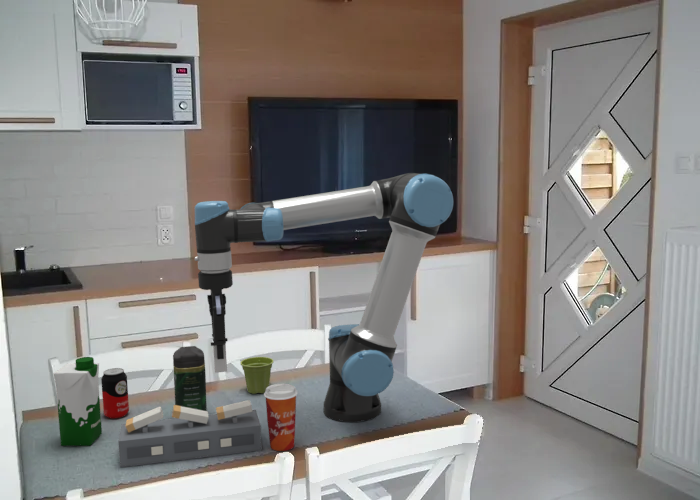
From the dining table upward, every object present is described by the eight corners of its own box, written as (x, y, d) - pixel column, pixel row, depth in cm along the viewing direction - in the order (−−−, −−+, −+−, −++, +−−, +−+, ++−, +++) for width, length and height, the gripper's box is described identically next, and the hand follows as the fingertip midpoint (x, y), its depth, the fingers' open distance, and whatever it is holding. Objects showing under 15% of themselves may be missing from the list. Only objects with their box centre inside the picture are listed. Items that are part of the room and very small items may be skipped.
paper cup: (271, 455, 156) (269, 396, 154) (261, 442, 163) (259, 385, 161) (304, 449, 159) (302, 390, 157) (293, 436, 166) (291, 380, 164)
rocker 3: (250, 406, 164) (249, 399, 163) (252, 411, 160) (251, 405, 160) (217, 414, 162) (215, 407, 161) (218, 419, 158) (216, 413, 158)
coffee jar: (208, 423, 174) (205, 352, 172) (176, 427, 172) (172, 355, 170) (205, 410, 184) (202, 342, 181) (175, 413, 181) (171, 345, 179)
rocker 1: (163, 412, 159) (160, 406, 158) (163, 418, 155) (160, 411, 155) (129, 426, 157) (126, 419, 157) (128, 432, 154) (125, 426, 153)
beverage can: (102, 420, 177) (99, 375, 175) (105, 411, 183) (102, 368, 182) (127, 418, 179) (125, 373, 177) (130, 409, 185) (127, 366, 183)
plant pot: (234, 392, 197) (233, 363, 195) (257, 383, 204) (256, 354, 203) (259, 398, 191) (258, 368, 190) (281, 388, 199) (280, 359, 198)
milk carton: (92, 447, 161) (86, 365, 158) (54, 447, 162) (48, 365, 159) (107, 432, 170) (101, 353, 167) (70, 432, 170) (64, 354, 167)
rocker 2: (205, 418, 161) (207, 411, 161) (206, 423, 158) (208, 417, 158) (171, 411, 159) (173, 404, 159) (171, 417, 156) (173, 410, 155)
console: (256, 433, 168) (255, 404, 167) (261, 451, 158) (260, 421, 157) (123, 448, 161) (121, 419, 160) (119, 468, 151) (117, 436, 150)
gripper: (196, 266, 161) (203, 364, 164) (199, 276, 148) (205, 382, 152) (229, 264, 162) (234, 361, 166) (234, 273, 150) (240, 378, 153)
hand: (220, 371), depth 159 cm, fingers closed
